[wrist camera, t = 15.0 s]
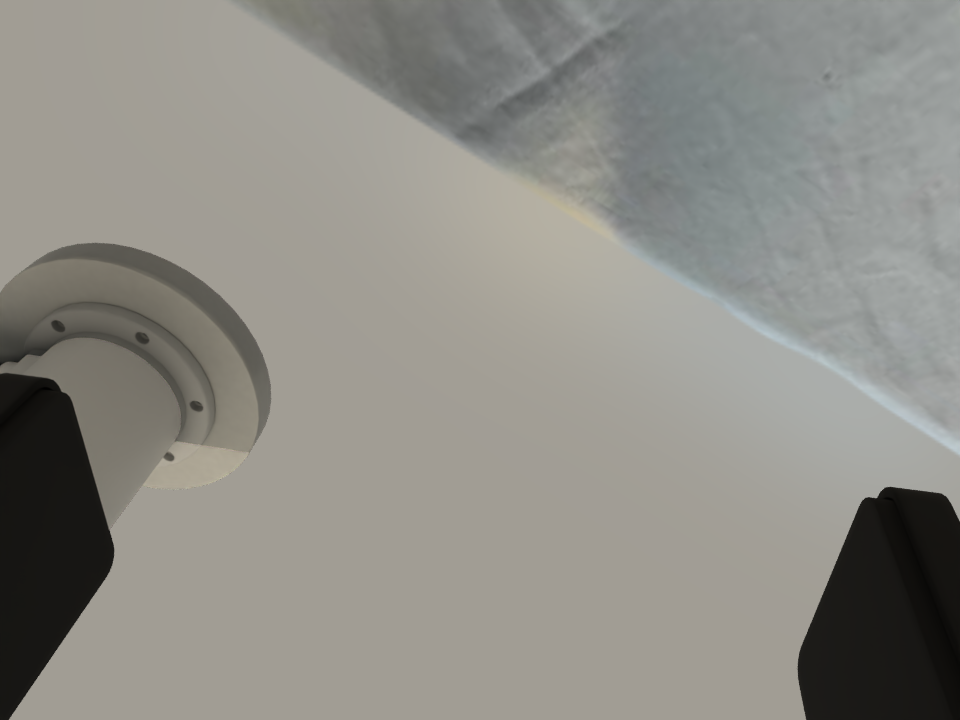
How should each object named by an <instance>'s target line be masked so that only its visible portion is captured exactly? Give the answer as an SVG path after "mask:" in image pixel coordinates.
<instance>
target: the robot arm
mask: <svg viewBox="0 0 960 720" xmlns="http://www.w3.org/2000/svg"><path fill="white" fill-rule="evenodd" d="M214 417H215V403H214V395H213V392H212V389H211V386H210V383H209V380H208V379H207V377H206V375H205V373H204V371H203V370H202V368H201V366H200V364H199V363H198V362H197V361H196V359H195V358H194V357H193V355H192V354H191V353H190V351H189V350H188V349H187V348H186V347H185V346H184V345H183V344H182V343H181V342H180V341H178V340H177V339H176V338H175V337H174V336H173V335H172V334H170V333H169V332H168V331H166V330H165V329H163V328H162V327H161V326H159V325H158V324H156V323H154V322H153V321H151V320H149V319H147V318H145V317H143V316H142V315H140V314H137V313H134V312H132V311H129V310H127V309H124V308H121V307H117V306H112V305H108V304H103V303H86V302H84V303H77V304H71V305H67V306H64V307H62V308H59V309H56V310H54V311H53V312H52V313H50V314H49V315H47V316H46V317H45V318H43V319H42V320H41V321H40V322H39V323H38V324H37V325H36V326H35V327H34V328H33V329H32V330H31V332H30V334H29V336H28V338H27V339H26V341H25V346H24V351H23V359H22V360H20V361H19V362H18V363H17V362H5V363H3V364H2V365H1V366H0V720H9V718H10V717H11V715H12V714H13V712H14V711H15V710H16V708H17V707H18V705H19V704H20V702H21V701H22V699H23V698H24V697H25V695H26V693H27V692H28V690H29V689H30V688H31V686H32V685H33V683H34V682H35V680H36V679H37V677H38V676H39V675H40V673H41V672H42V670H43V669H44V667H45V666H46V664H47V663H48V662H49V660H50V659H51V657H52V656H53V654H54V653H55V651H56V650H57V648H58V647H59V645H60V644H61V643H62V641H63V640H64V638H65V637H66V635H67V634H68V632H69V631H70V629H71V628H72V626H73V625H74V623H75V622H76V621H77V619H78V618H79V616H80V615H81V613H82V612H83V610H84V609H85V608H86V606H87V605H88V603H89V602H90V600H91V599H92V597H93V596H94V594H95V593H96V592H97V590H98V588H99V587H100V586H101V584H102V583H103V581H104V580H105V578H106V577H107V575H108V573H109V572H110V569H111V566H112V563H113V558H114V545H113V542H112V538H111V534H110V531H109V530H110V529H111V527H112V526H113V524H114V523H115V522H116V520H117V519H118V518H119V516H120V515H121V514H122V512H123V511H124V510H125V508H126V507H127V505H128V504H129V503H130V502H131V500H132V499H133V497H134V496H135V495H136V493H137V492H138V491H139V489H140V488H141V487H142V485H143V484H144V482H145V481H146V480H147V478H148V477H149V476H150V474H151V473H152V472H153V470H154V469H155V468H156V467H163V466H169V465H172V464H176V463H179V462H181V461H183V460H185V459H187V458H189V457H191V456H192V455H193V454H194V453H195V452H196V451H197V450H198V449H199V448H200V447H201V446H202V444H203V443H204V441H205V440H206V438H207V437H208V436H209V433H210V431H211V429H212V426H213V424H214ZM798 680H799V685H800V690H801V696H802V701H803V706H804V711H805V716H806V720H960V521H959V519H958V517H957V515H956V513H955V511H954V509H953V507H952V505H951V503H950V502H949V500H948V498H947V497H946V496H944V495H943V494H940V493H933V492H926V491H918V490H910V489H902V488H895V487H886V488H884V489H883V490H882V491H881V492H880V494H879V496H878V498H870V497H868V498H865V499H864V500H863V501H862V502H861V504H860V506H859V508H858V511H857V513H856V515H855V518H854V520H853V523H852V525H851V528H850V530H849V532H848V535H847V537H846V540H845V542H844V545H843V547H842V549H841V552H840V554H839V557H838V559H837V561H836V564H835V566H834V569H833V571H832V574H831V576H830V578H829V581H828V583H827V586H826V588H825V591H824V593H823V595H822V598H821V600H820V603H819V605H818V607H817V610H816V612H815V615H814V617H813V620H812V622H811V624H810V627H809V629H808V632H807V634H806V637H805V639H804V642H803V644H802V646H801V650H800V653H799V659H798Z"/></svg>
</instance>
